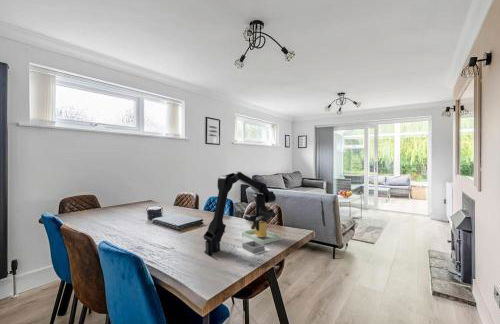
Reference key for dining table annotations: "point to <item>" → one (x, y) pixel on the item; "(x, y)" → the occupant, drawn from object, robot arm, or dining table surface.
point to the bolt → (254, 225)
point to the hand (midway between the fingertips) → (260, 230)
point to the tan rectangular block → (261, 229)
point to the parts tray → (251, 232)
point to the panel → (252, 248)
